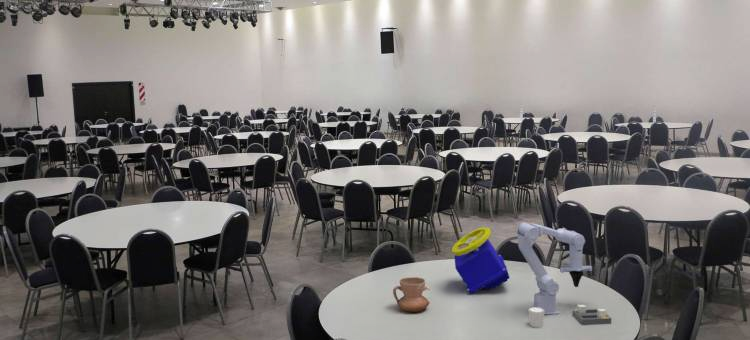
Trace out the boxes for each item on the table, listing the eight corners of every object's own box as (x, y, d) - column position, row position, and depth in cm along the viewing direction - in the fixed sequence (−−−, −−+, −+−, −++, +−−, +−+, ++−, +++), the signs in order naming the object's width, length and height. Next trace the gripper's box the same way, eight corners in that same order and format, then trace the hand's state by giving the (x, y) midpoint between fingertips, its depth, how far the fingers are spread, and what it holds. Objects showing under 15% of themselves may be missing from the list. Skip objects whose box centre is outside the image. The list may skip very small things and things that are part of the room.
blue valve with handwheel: (515, 265, 328) (486, 219, 324) (522, 284, 302) (490, 235, 298) (474, 288, 333) (444, 243, 329) (477, 309, 307) (445, 261, 303)
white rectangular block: (599, 319, 270) (599, 311, 269) (596, 317, 273) (597, 309, 272) (606, 319, 270) (606, 310, 270) (603, 317, 273) (603, 308, 272)
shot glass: (541, 321, 273) (541, 306, 272) (546, 327, 267) (546, 312, 266) (526, 322, 273) (526, 307, 272) (530, 328, 266) (530, 312, 265)
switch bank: (582, 324, 268) (582, 319, 268) (572, 315, 280) (572, 309, 279) (611, 323, 269) (611, 317, 269) (600, 313, 280) (600, 308, 280)
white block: (579, 315, 276) (579, 307, 275) (577, 313, 278) (577, 304, 278) (585, 315, 276) (585, 306, 275) (583, 313, 278) (583, 304, 278)
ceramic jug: (433, 304, 298) (432, 276, 296) (428, 315, 284) (427, 285, 282) (397, 303, 302) (395, 275, 301) (390, 313, 288) (389, 284, 287)
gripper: (563, 261, 281) (563, 290, 283) (594, 259, 282) (594, 288, 284) (558, 257, 288) (558, 285, 290) (588, 255, 289) (588, 283, 291)
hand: (575, 286), depth 287 cm, fingers closed
